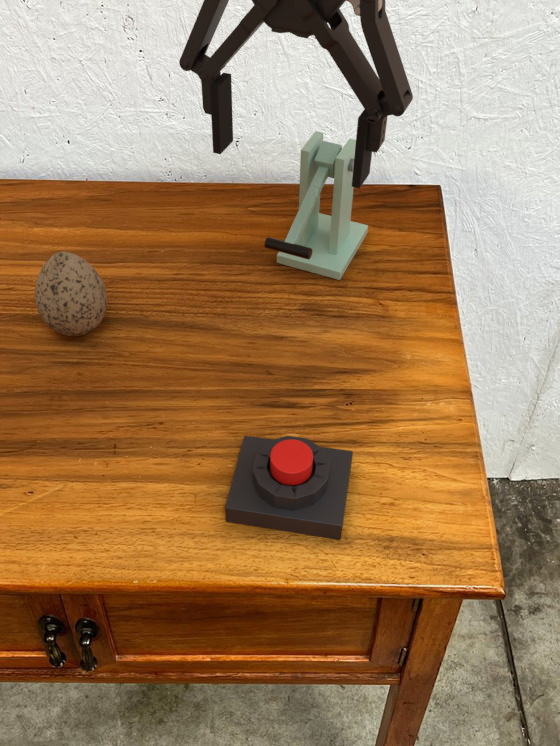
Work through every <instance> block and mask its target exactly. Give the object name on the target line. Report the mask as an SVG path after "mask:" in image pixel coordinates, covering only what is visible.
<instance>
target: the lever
mask: <svg viewBox="0 0 560 746" xmlns="http://www.w3.org/2000/svg"><path fill="white" fill-rule="evenodd" d="M342 148H343V146H342V144H338V143H335V142H331V141H330V142H329V141H326V140H323V142H322V144H321V146H320V148H319V151H318V153H317V155H316V157H315V159H314V163H315V170H316V174H315V176H314V178H313V180H312V182H311V185H310V187H309V189H308V191H307V193H306V195H305V198H304V200H303V202H302V204H301V206H300V209H299V208H298V210H297V213H296V215H295V217H294V219H293V222H292V224H291V226H290V228H289V231H288V233H287V235H286V237H285V239H284V240H282V239H278V238H274V237H271V236H267V237H266V238H265V240H264V248H265V249H269V250H272V251H275V252H283V253H286V254H290V255H294V256H297V257H301V258H305V259H308V260H309V259H310V258H311V256H312V248H309V247H305V246H301V245H297V243H298V241H299V239H300V237H301V234H302V232H303V230H304V228H305V226H306V223H307V221H308V219H309V217H310V215H311V212H312V210H313V208H314V206H315V203H316V201H317V199H318V197H319V195H320V196H321V192H322V190H323V188H324V185H325V184H326V182H327V179H328V178H330V179H334V174H335V159H336V157H337V155H338V154H339V153H340V151H341V150H342Z"/></svg>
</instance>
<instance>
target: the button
mask: <svg viewBox="0 0 560 746" xmlns="http://www.w3.org/2000/svg"><path fill="white" fill-rule="evenodd" d="M312 466H313V453H312V450H311V449H310V447H309V446H308V445H307V444H305V443H304V442H301V441H299V440H293V439H289V440H284V441H281V442H279V443H278V444H276V445H275V446H274V447H273V449H272V451H271V455H270V470H271V474H272V476H273V477H274V478H275V479H276V480H277V481H278V482H280V483H282V484H285V485H298V484H301V483H303V482H305V481H306V480H307V479H308V478H309V477H310V475H311V473H312Z"/></svg>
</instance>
